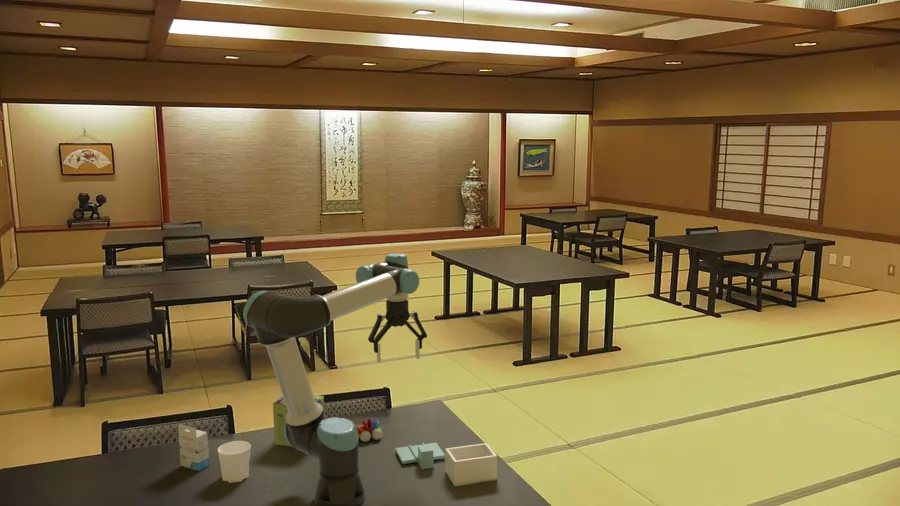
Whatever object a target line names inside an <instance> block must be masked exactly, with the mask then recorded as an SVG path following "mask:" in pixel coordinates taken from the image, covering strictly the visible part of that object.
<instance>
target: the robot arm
mask: <svg viewBox="0 0 900 506" xmlns="http://www.w3.org/2000/svg"><path fill="white" fill-rule="evenodd" d="M355 281H356V283H354V284H352V285H349V286H345V287H342V288H340V289H337V290H333V291H331V292H329V293H326V294H324V295H320V294H314V295H311V296H305V297H299V296H297V297H296V296H291V295H286V294H281V293H277V292H276V291H273V290H260V291H257V292H255V293H254V294H252V295H251V296H250V297H249V298H248V299H247V301H246V303H245V305H244V307H243V311H242V317H243V320H244V323H245V324H246V325H247V326H248V327H249V328H250V329H253V330H254V332H255V335H256V338H257V340H258V341H257V342H258V343H259V344H260V345H261V346H264V347H265V348H266V351H267V353H268V356H269V359H270V362H271V366H272V368H273V371H274V373H275V377H276V381H277V382H278V387H279V389H280V391H281V394H282V395H281V396H283V398H284V401H285V404H286V407H287V410H288V414H287V415H286V418H285V420H286V422H285V423H286V425H285V426H284V436H285V439H286V441H287V442H288V443H289V444H290V445H291V446H290V447H292V448H294V450H297V451H298V452H301V453H304V454H305V455H308V456H310V457H312V458H314V459H316V460H318V474H319V476H318V478H317V479H318V480H317V483H316V486H315V489H314V492H313V497H314V498H313V500H314V505H316V506H360V505H362V504H363V503H364V501H365V500H366V487H365V485H364V483H363V479H362V477H361V475H360V470H359V469H360V467H359V465H360V463H359V461H360V460H359V459H360V457H359V439H360V438H359V437H358V432H357V427H356V426H357V425H356V424H355V423H354V422H353V421H351V420H350V419H347V418H345V417H341V418H340V417H337V416H335V417H328V418H327V417H326V414H325V409H324V410H323V407H322V405H321V404H319V403H317V402H315V399H314V396H315V395H314V394H313V390H312V387H311V384H310V381H309V377H308V374H307V372H306V368H305V365H304V362H303V359H302V358H303V357H302V356H301V352H300V349H299V346H298V344H297V340H296V337H302V336H305V335H308V334H311V333H314V332H317V331H319V330H321V329H324V328H326V327H328V326H329V325H330V324H331V321H335V320H337V319H338V318H339V319H340V318H342V317H344V316H346V315H348V314H351V313H354V312H356V311H358V310H361V309H364V308H366V307H368V306H371V305H374V304H376V303H380V302H381V301H384V300H385V299H386V301H385V307H386V308H385V310H386V313H385V314H380V313H377V314H376V321H375V323H374V325H373V327H372V329H371V331H370V334H369V335H368V338H367V340H368V342H369V344H370V343H371V344H373V352H374V354H376V360H377V361H376V362H378V363H379V364H380V363H381V362H382V361H381V360H382V359H381V343H380V341H381V340H382V338H383V337H384V336H385V335H386V334H387V332H388V331H389V329H391V328H392V327H393V328H396V327H403V326H406V327H407V328H408V329H409V330H410V331H411V332H412V333H413V335H415V337H416V338H414V342H415V344H414V345H415V346H414V347H415V348H414V349H415V351H414V352H415V358H416V360H419V359H420V350H421V349H423V339H427V338H428V335H427V332H426V331H425V329H424V328H425V327H424V326H423V325H422V322H421V321H420V319H419V314H418V312H417V311H415V310H414V311H412V312H409V295H410V294H411V295H412V294H414V293H415V292H416V291H417V290H418V288H419V286H420V278H419V274H418V273H417V272H416V271H415V270H413V269H409V264H408V256H407V255H406V254H404V253H388V254H387V255H385V259H384V261H383V262H382V261H381V262H379V263H378V262H377V263H371V264H370V263H369V264H368V263H367V264H364V265H360V266H359V267H358V268H357V269H356V272H355ZM410 318H411V319H413V320H414V323H415V324H416V326H417V328H418V329H419V332H420V333H419V332H418V331H417V330H416V329H415V328H414V327H413V326H412V324H410V322H408V321H409V319H410ZM384 319H386V322H385V324H384V325H383V327H382V328H381V330H380V329H379V328H380V327H381V324H382V322H384ZM379 330H380V331H379ZM378 331H379V332H378Z"/></svg>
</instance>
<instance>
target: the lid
mask: <svg viewBox="0 0 900 506" xmlns="http://www.w3.org/2000/svg"><path fill="white" fill-rule="evenodd" d="M395 452H396V454H397V456H398V458H399V459H400V462H401V464H402V465H406V464H412V463H413V464H414V463H417V464H418V466H419V467H420V469H421V470H427V469H434V468H435V467H434V460H439V459H440V460H441V459H445V453H444V452H443V450H442V449H441V448H440V446H439V444H438V442H430V443H429V442H428V443H424V442H421V444H416V445H411V444H408V446H401V447H400V446H399V447H395Z"/></svg>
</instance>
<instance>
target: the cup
mask: <svg viewBox="0 0 900 506" xmlns="http://www.w3.org/2000/svg"><path fill="white" fill-rule="evenodd" d="M251 449H252V447H251V443H250V442H248V441H245V440H233V441H229V442H226V443H223V444H221V445H220V446H218V448H217V454H218V459H219V464H220V470H221V471H220V472H221V477H222V482H223V481H224V482H227V481H228V482H227V483H229V484H232V483H238V482H239V483H240V482H241V483H242V481H244V480H245V478H246V479H248V477H249V476H250V475H249V474H250V460H251V459H250V458H251ZM249 478H250V477H249ZM243 479H244V480H243Z"/></svg>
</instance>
